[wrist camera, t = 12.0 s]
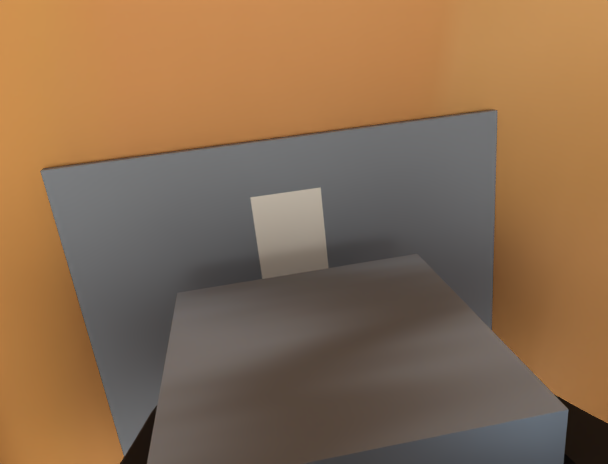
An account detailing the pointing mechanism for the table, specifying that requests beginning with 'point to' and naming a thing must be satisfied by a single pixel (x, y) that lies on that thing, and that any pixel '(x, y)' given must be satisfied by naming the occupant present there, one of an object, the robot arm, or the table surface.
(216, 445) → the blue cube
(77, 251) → the letter card
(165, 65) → the table surface
